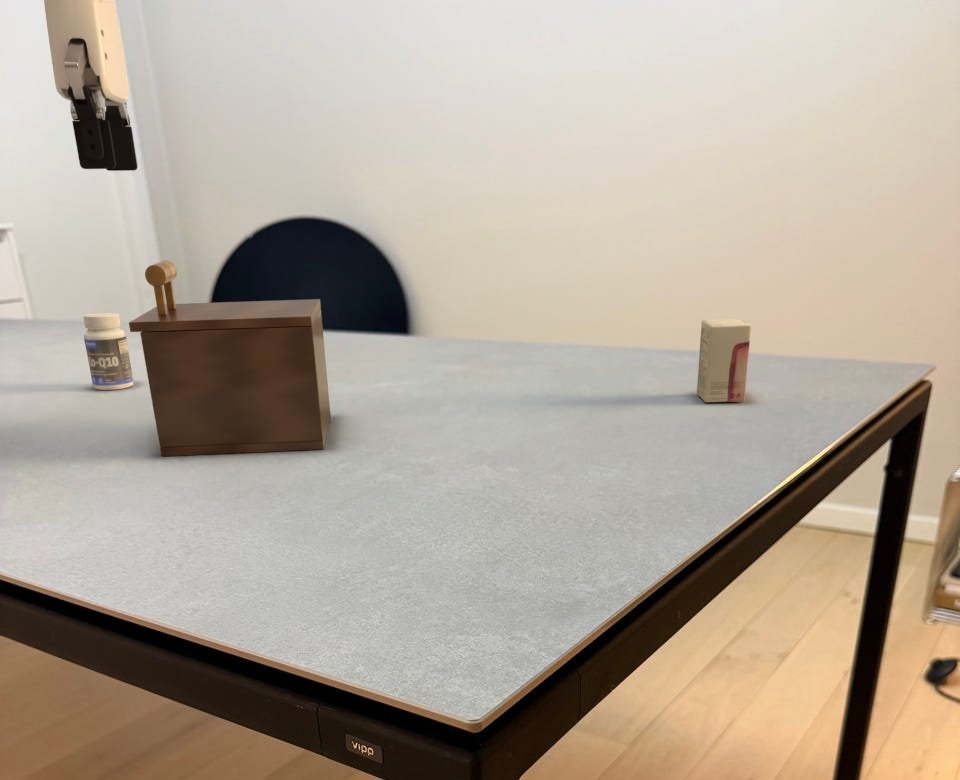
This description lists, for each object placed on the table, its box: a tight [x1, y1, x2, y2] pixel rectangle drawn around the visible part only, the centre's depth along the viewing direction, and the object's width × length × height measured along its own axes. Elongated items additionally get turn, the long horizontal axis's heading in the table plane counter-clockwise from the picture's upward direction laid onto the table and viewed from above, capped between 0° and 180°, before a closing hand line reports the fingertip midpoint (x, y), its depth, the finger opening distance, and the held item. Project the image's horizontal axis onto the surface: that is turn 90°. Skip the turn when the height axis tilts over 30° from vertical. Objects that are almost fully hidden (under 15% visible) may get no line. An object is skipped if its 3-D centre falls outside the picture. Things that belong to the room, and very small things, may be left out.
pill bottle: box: [83, 312, 135, 391], centre depth 114 cm, size 5×5×8 cm
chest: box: [139, 308, 332, 457], centre depth 90 cm, size 15×13×11 cm
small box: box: [696, 318, 752, 403], centre depth 101 cm, size 5×4×8 cm
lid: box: [128, 260, 322, 333], centre depth 86 cm, size 15×13×5 cm
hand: (110, 169), depth 94 cm, fingers open, 9 cm apart
